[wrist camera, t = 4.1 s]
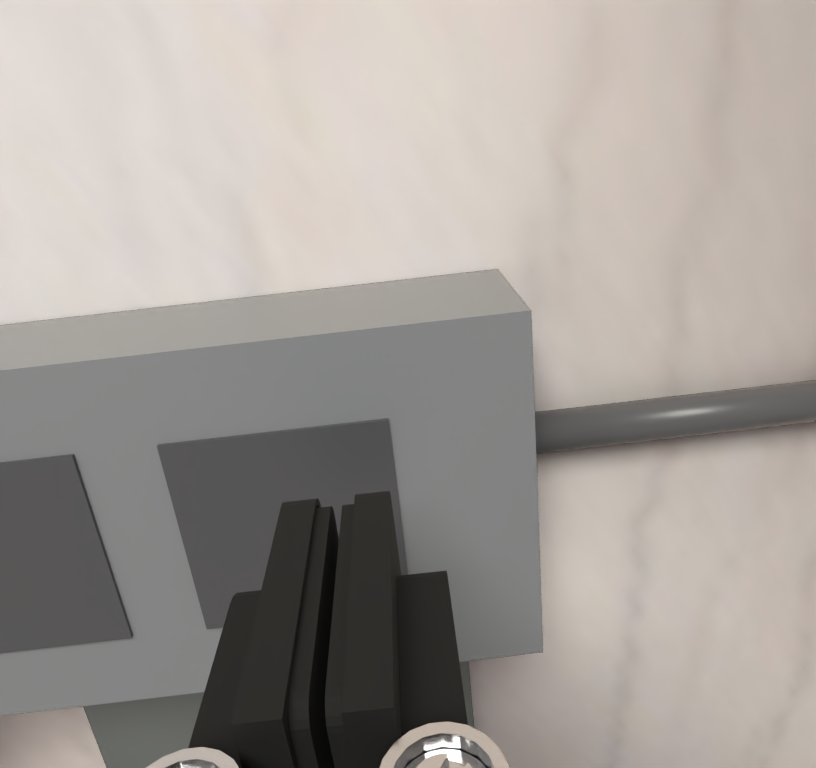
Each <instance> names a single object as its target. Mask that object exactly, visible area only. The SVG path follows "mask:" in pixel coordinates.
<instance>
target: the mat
mask: <svg viewBox="0 0 816 768" xmlns="http://www.w3.org/2000/svg"><path fill="white" fill-rule="evenodd" d="M459 663H460V670H461V677H462V685H463V692H464V699H465V707H466V714H467V721H468V725H469V726H471V727H473V728H474V720H473V709H472V698H471V687H470V676H469V664H468V661H465V662H459ZM203 695H204V692H200V693H192V694H183V695H175V696H166V697H157V698H149V699H140V700H132V701H123V702H115V703H106V704H98V705H89V706H83V707H84V710H85V712H86V715H87V718H88V720H89V723H90V725H91V728H92V731H93V733H94V736H95V739H96V741H97V744H98V746H99V749H100V752H101V754H102V757H103V759H104V762H105V765H106V767H107V768H146V767H148V766H149V765H151V764H152V763H154V762H155V761H157V760H158V759H160V758H162V757H163V756H166V755H169V754H171V753H174V752H177V751H179V750H182V749H188V747H189V743H190V740H191V736H192V733H193V730H194V726H195V723H196V719H197V716H198V712H199V709H200V705H201V702H202V699H203Z"/></svg>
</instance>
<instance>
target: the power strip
mask: <svg viewBox="0 0 816 768" xmlns="http://www.w3.org/2000/svg"><path fill="white" fill-rule="evenodd" d="M815 421H816V380H812V381H803V382H794V383H786V384H777V385H768V386H759V387H751V388H742V389H733V390H725V391H716V392H707V393H698V394H690V395H681V396H672V397H663V398H655V399H646V400H637V401H628V402H620V403H611V404H602V405H594V406H585V407H576V408H567V409H559V410H550V411H541V412H535V404H534V375H533V347H532V318H531V309H530V308H529V307H528V306H527V305H526V303H525V302H524V301H523V300H522V298H521V297H520V296H519V295H518V293H517V292H516V291H515V290H514V288H513V287H512V286H511V285H510V284H509V282H508V281H507V280H506V279H505V277H504V276H503V275H502V274H501V272H500V271H499V270H498V269H493V270H485V271H476V272H467V273H458V274H449V275H440V276H431V277H423V278H414V279H405V280H396V281H387V282H378V283H369V284H361V285H352V286H343V287H334V288H325V289H316V290H307V291H298V292H290V293H281V294H272V295H263V296H254V297H245V298H236V299H228V300H219V301H210V302H201V303H192V304H183V305H174V306H166V307H157V308H148V309H139V310H130V311H121V312H112V313H104V314H95V315H86V316H77V317H68V318H59V319H50V320H41V321H33V322H24V323H15V324H6V325H0V716H4V715H12V714H21V713H29V712H38V711H46V710H55V709H64V708H72V707H81V706H89V705H98V704H106V703H115V702H123V701H132V700H140V699H149V698H157V697H166V696H175V695H183V694H192V693H200V692H205V688H206V685H207V681H208V678H209V674H210V671H211V667H212V664H213V661H214V657H215V654H216V650H217V647H218V643H219V640H220V636H221V633H222V629H223V626H224V623H225V619H226V616H227V612H228V609H229V605H230V603H231V600H232V598H233V596H234V595H235V594H236V593H239V592H249V591H258V590H261V589H262V585H263V580H264V576H265V572H266V568H267V563H268V559H269V555H270V551H271V546H272V542H273V538H274V534H275V529H276V525H277V521H278V517H279V512H280V508H281V505H282V503H283V502H288V501H298V500H307V499H316V498H318V499H319V501H320V504H321V507H329V506H332V507H333V510H334V514H335V519H336V525H337V531H338V536H339V533H340V523H341V512H342V506H343V505H348V504H354V499H355V495H356V494H363V493H373V492H382V491H390V495H391V501H392V508H393V516H394V523H395V531H396V538H397V546H398V554H399V561H400V569H401V575H409V574H419V573H428V572H438V571H447V575H448V582H449V589H450V597H451V604H452V611H453V619H454V626H455V633H456V641H457V648H458V655H459V662H465V661H473V660H482V659H490V658H499V657H507V656H516V655H525V654H533V653H542V652H543V633H542V605H541V576H540V547H539V519H538V490H537V461H536V454H537V453H545V452H554V451H563V450H571V449H580V448H589V447H598V446H606V445H615V444H624V443H632V442H641V441H650V440H658V439H667V438H676V437H685V436H693V435H702V434H711V433H719V432H728V431H737V430H745V429H754V428H763V427H772V426H780V425H789V424H798V423H806V422H815Z"/></svg>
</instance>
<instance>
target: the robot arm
mask: <svg viewBox="0 0 816 768" xmlns="http://www.w3.org/2000/svg"><path fill="white" fill-rule="evenodd" d="M146 768H510V767H509V764H508V762H507V761H506V759H505V757H504V755H503V753H502V751H501V750H500V748H499V747H498V746H497V745H496V744H495V743H494V742H493V741H492V740H491V739H490V738H489V737H488V736H487V735H486V734H485V733H483V732H481V731H479V730H477V729H475V728H473V727H471V726H469V725H468V721H467V714H466V707H465V699H464V692H463V685H462V677H461V670H460V663H459V655H458V648H457V641H456V633H455V626H454V619H453V611H452V604H451V597H450V589H449V582H448V575H447V571H438V572H428V573H419V574H409V575H401V569H400V561H399V554H398V546H397V538H396V531H395V523H394V516H393V508H392V501H391V495H390V491H382V492H373V493H363V494H356V495H355V499H354V504H348V505H343V506H342V512H341V523H340V533H339V536H338V531H337V525H336V519H335V514H334V510H333V507H332V506H329V507H321V504H320V501H319V499H318V498H316V499H307V500H298V501H288V502H283V503H282V505H281V508H280V512H279V517H278V521H277V525H276V529H275V534H274V538H273V542H272V546H271V551H270V555H269V559H268V563H267V568H266V572H265V576H264V580H263V585H262V589H261V590H258V591H249V592H239V593H236V594H235V595H234V596H233V598H232V600H231V603H230V605H229V609H228V612H227V616H226V619H225V623H224V626H223V629H222V633H221V636H220V640H219V643H218V647H217V650H216V654H215V657H214V661H213V664H212V667H211V671H210V674H209V678H208V681H207V685H206V688H205V692H204V695H203V699H202V702H201V705H200V709H199V712H198V716H197V719H196V723H195V726H194V730H193V733H192V736H191V740H190V743H189V747H188V749H182V750H179V751H177V752H174V753H171V754H169V755H166V756H163V757H162V758H160V759H158V760H157V761H155V762H154V763H152V764H151V765H149V766H148V767H146Z"/></svg>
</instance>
